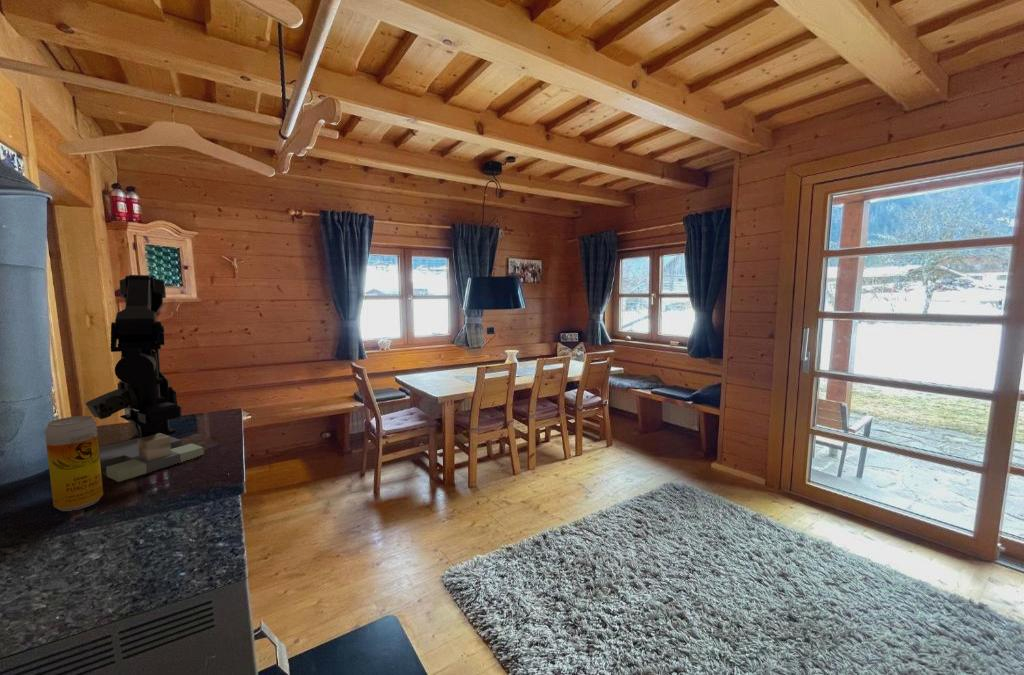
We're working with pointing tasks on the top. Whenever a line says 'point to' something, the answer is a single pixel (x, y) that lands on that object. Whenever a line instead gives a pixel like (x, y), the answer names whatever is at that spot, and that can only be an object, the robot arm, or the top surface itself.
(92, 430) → the beer can
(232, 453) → the top surface
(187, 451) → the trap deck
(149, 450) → the block
